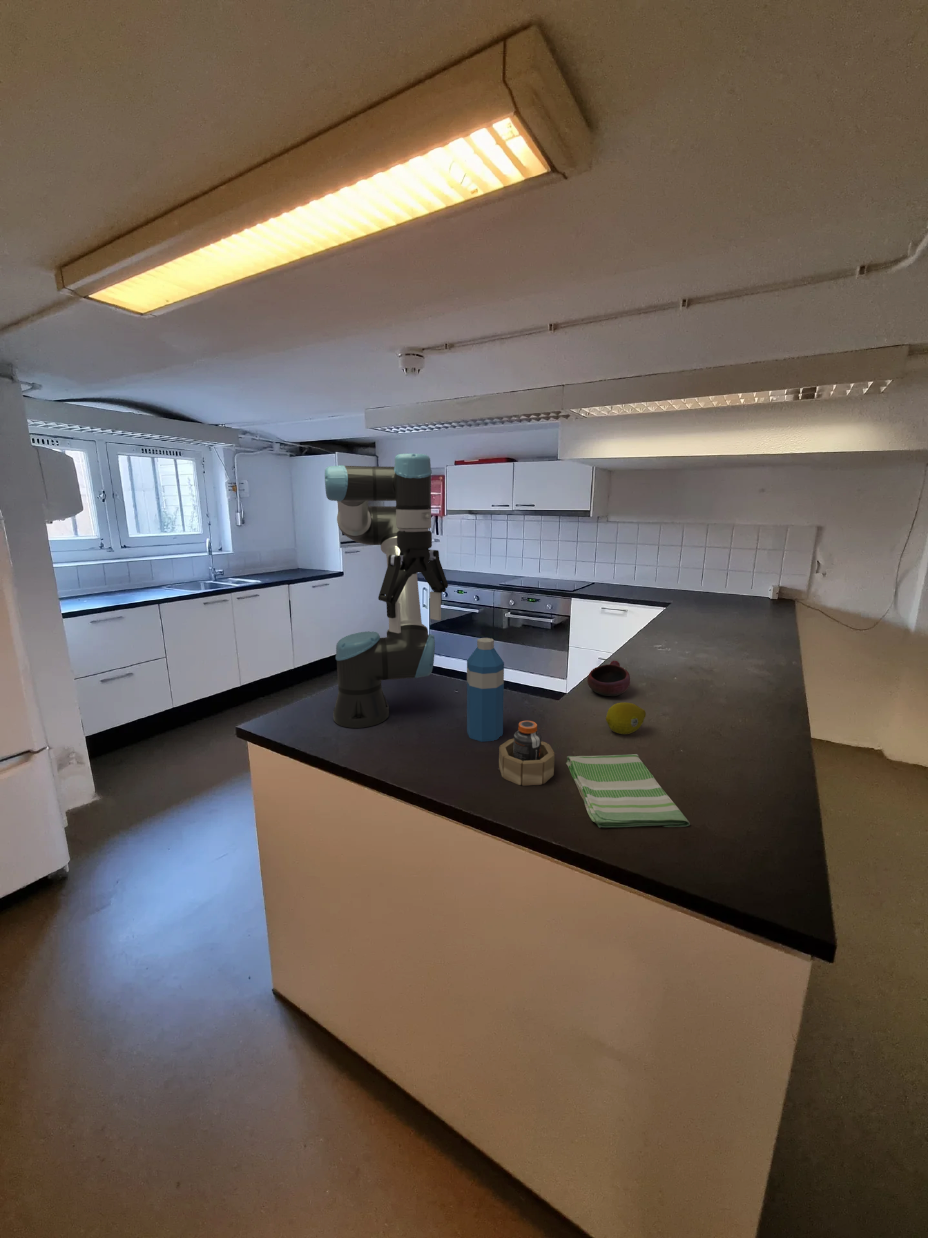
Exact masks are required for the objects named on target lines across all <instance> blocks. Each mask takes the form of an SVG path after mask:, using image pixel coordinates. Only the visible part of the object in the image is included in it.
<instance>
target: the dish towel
mask: <svg viewBox="0 0 928 1238" xmlns="http://www.w3.org/2000/svg"><path fill="white" fill-rule="evenodd" d="M566 760H567V761H566V762H565V764H566V765H567V768H568V770H569V773H570V774H571V775H570V776H571V777H572V779H573V781H574V783H575V784H576V787H577V789H578V792H579V794H580V796H581V798H582V800H583V802H584V806H585V809H586V812H587V814H588V816H589V818H590V820H591V822H594V823H595V824H596V825H597V827H598V828H599V829H600V828H628V827H629V828H630V827H633V828H634V827H652V826H662V828H675V827H677V828H678V827H683V828H685V827H689V826H690V825H691V823H690V821H689V820H688V819H687V817H686V815H684V814H683V812H682V811H681V810H680V808H679V807H678V806H677V805H676V803H675V802H674V801H673V800H672V799H671V798H670V796H669V795H668V794H667V793H666V792H665V790H664V789H663V788H662V786H661V785H660V784H659V782H658V781H657V780H656V778H655V777H654V775H653V774H652V773H651V772H650V770H649V769H648V767H647V766H646V765H645V764H644V762H643V761H642V760H641V759H640V756H639V754H637V753H635V754H612V755H577V756H576V755H574V756H573V755H568V756H566Z"/></svg>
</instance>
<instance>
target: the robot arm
mask: <svg viewBox="0 0 928 1238" xmlns="http://www.w3.org/2000/svg"><path fill="white" fill-rule="evenodd" d="M431 466H432V465H431V458H430V456H429V455H427V454H423V453H399V454H398V453H397V455H396V456H395V457H394V466H377V465H376V466H375V465H374V466H372V465H371V466H369V465H368V466H367V465H366V466H365V465H343V464H342V465H341V464H339V465H329V466H326V468H325V469H324V487H325V488H324V489H325V495H326V498H327V500H328V501H333V502H335V501H336V502H337V507H338V508H337V509H338V512H337V516H336V522H337V526H338V528H339V530H340V532H341V533H342V535H344V536H345V537H347V539H350V540H352V541H354V542H356V543H359V544H361V545H362V544H363V545H365V546H366V545H367V546H368V545H369V546H380V550H381V552H382V553H383V554H385V555H386V567H387V568H386V571H385V574H384V578H383V580H382V581H383V582H382V584H381V587H380V591H379V594H378V598H377V599H378V600H379V601H380V602H381V601H382V602H384V603H385V605H386V617H387V619H388V629H387V631H386V637H385V636H384V637H381V635H380V633H378V632H377V631H361V632H354V633H351V634H349V635H346V636H344V637H341V638H340V639H339V640H338V641H337V643H336V645H335V660H336V670H337V671H336V673H337V691H338V694H337V697H336V700H335V701H336V702H335V704H334V705H335V706H334V708H333V712H332V716H333V717H332V718H333V722H335V724H336V725H338V726H340V727H344V728H350V729H361V728H368V727H373V726H376V725H378V724H382V723H383V722H384V721H386V720H387V719H388V718H389V716H390V707H389V703H388V702H387V699H386V696H385V694H384V691H383V689H382V681H391V680H400V679H401V680H402V679H418V678H424V677H428V676H430V675H431V674H432V672H433V669H434V662H435V653H436V651H435V650H436V642H435V641H436V640H435V635H433V634H431V633H430V634H429V630H428V627H427V626H425V624H423V622H422V613H421V602H420V600H421V599H420V591H419V582H418V573H420V574H421V575H422V576H423V578H424V579H425V581H426V582H427V584H428V585H429V587H430V588H431V590H432V591H429V613H430V614H429V618H430V620H434V621H442V603H443V593H445V592H446V591H447V588H448V587H449V583H448V581H447V577H446V574H445V571H444V569H443V566H442V563H441V560H440V551H439V550H438V549H431V548H432V546H433V536H432V534H433V533H432V532H431V531H432V530H429V529H431V528H432V474H433V471H432V467H431ZM374 501H375V502H378V501H380V502H383V501H384V502H395V503H396V504H395V506H390V505H389V506H388V505H387V506H385V505H384V506H381V505H380V506H378V505H377V506H375V505H373V506H371V505H369V502H374Z"/></svg>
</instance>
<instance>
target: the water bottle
mask: <svg viewBox="0 0 928 1238" xmlns="http://www.w3.org/2000/svg"><path fill="white" fill-rule="evenodd" d="M476 642H477V643H476V644H477V645H476V648H474V649H475V650H473V652H472V653H471V655H470V656H469V657H468V658H467V659H466V733H467V736H468V737H469V739H472V740H475V741H478V742H481V743H482V742H491V741H492V742H495V741H494V740H496V741H497V740H498V739H500V738H501V737H502V736H503V735H504V734H503V733H504V696H505V695H504V693H505V692H504V690H505V689H504V686H505V685H504V684H505V681H504V680H505V662H504V660H503V659H502V657H501V656H500V654H499V653H498V652H497V651H496V649H495V641H494V639H493V638H492V637H491V638H490V637H481V638H477V641H476ZM500 736H501V737H500ZM499 737H500V738H499Z"/></svg>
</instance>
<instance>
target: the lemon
mask: <svg viewBox="0 0 928 1238" xmlns="http://www.w3.org/2000/svg"><path fill="white" fill-rule="evenodd" d="M646 717H647V713H646V710H645V709H644V708H642V707H640V706H639V705H636V704H635V703H632V702H624V701H623V702H617V703H614V704H612V705H611V706H610V707H609V708H608V710H607V713H606V716H605V722H606V723H607V725H608V728H610V730H611V731H612V732H614V733H616V734H619V735H629V734H633V733H635V732H636V731H638V730H639V729H640V727H642V725H643V723H644V721H645V718H646Z"/></svg>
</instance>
